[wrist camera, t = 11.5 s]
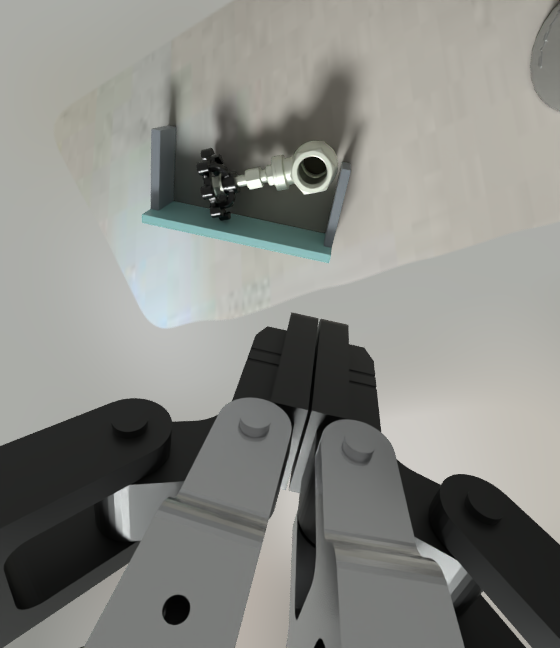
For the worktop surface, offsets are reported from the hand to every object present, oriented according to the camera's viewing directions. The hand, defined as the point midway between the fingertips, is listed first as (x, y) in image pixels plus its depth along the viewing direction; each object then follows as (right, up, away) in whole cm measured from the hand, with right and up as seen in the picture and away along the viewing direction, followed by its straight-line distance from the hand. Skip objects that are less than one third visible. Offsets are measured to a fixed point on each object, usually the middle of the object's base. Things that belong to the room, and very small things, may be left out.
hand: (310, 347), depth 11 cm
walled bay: (-4, +15, +31) cm, 34 cm away
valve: (-1, +16, +30) cm, 34 cm away
